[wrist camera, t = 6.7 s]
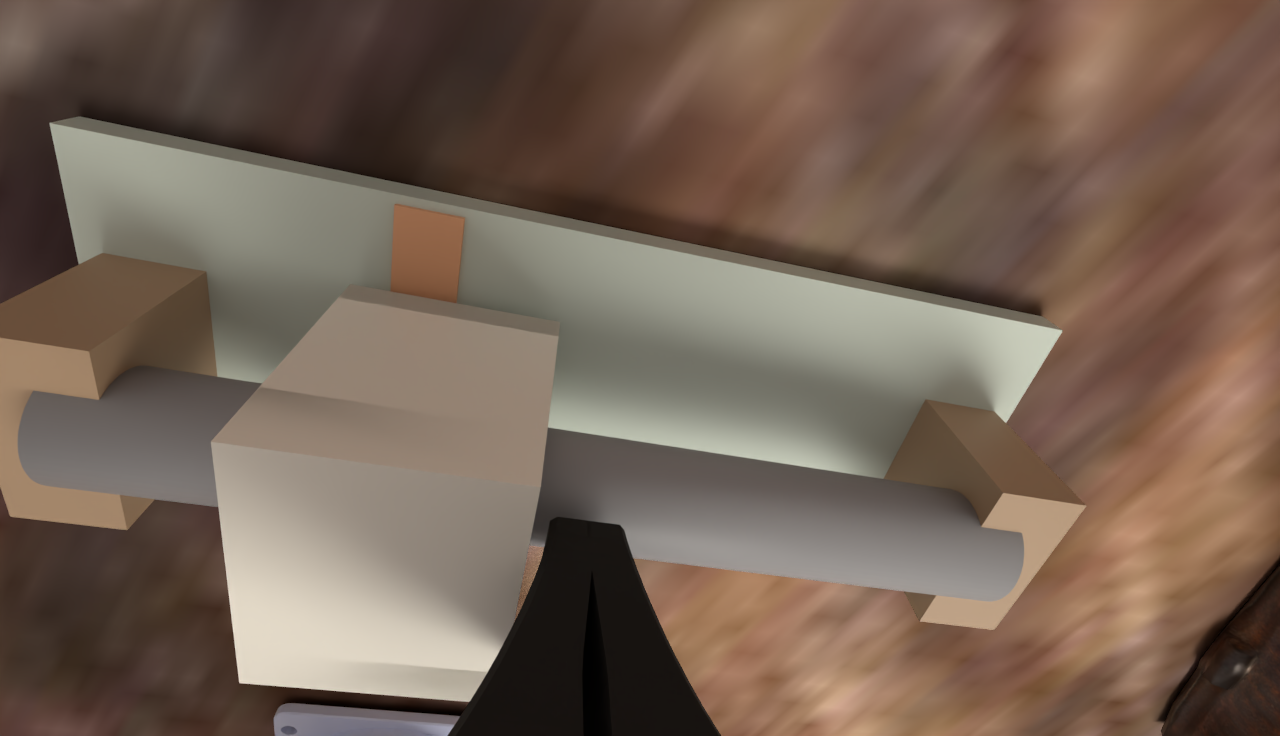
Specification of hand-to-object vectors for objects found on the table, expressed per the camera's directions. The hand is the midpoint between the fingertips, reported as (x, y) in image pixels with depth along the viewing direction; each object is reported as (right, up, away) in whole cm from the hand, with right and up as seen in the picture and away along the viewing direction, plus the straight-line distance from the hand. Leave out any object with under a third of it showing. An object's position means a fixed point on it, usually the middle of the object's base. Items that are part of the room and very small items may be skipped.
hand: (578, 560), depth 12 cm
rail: (0, +3, +5) cm, 6 cm away
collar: (-3, +3, +3) cm, 5 cm away
